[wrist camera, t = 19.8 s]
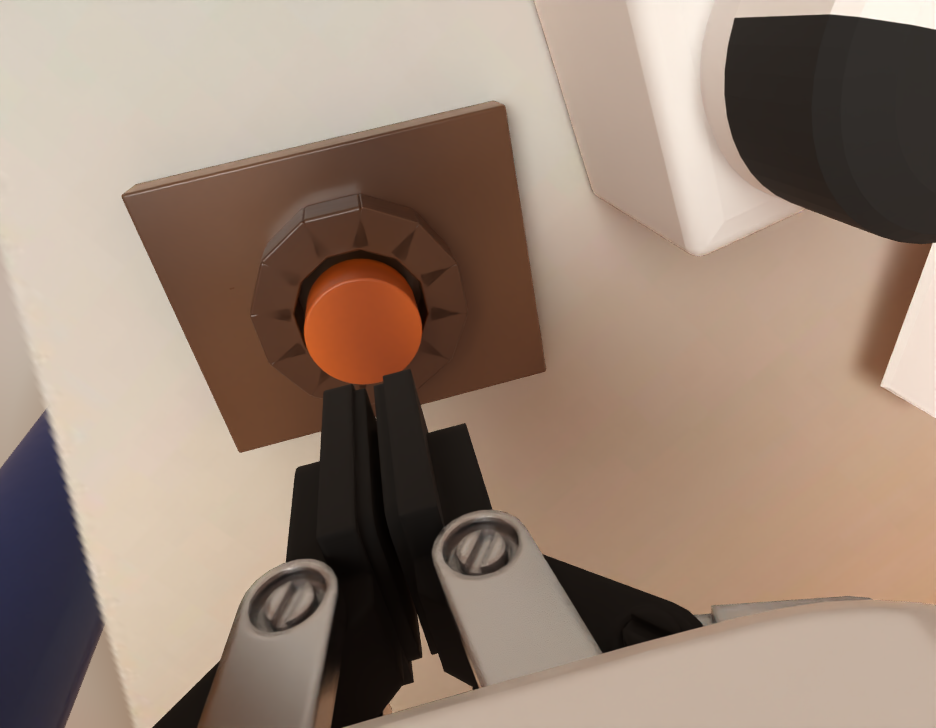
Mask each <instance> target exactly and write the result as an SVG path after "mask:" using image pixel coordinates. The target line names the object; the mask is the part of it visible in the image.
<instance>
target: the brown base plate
mask: <svg viewBox="0 0 936 728" xmlns="http://www.w3.org/2000/svg"><path fill="white" fill-rule="evenodd" d="M122 199H123V201H124V203H125V206H126V208H127V210H128V212H129V214H130V216H131V219H132V221H133V223H134V225H135V227H136V230H137V232H138V234H139V236H140V238H141V240H142V243H143V245H144V247H145V249H146V251H147V253H148V256H149V258H150V260H151V262H152V264H153V266H154V269H155V271H156V273H157V275H158V277H159V280H160V282H161V284H162V286H163V288H164V290H165V293H166V295H167V297H168V299H169V301H170V303H171V306H172V308H173V310H174V312H175V314H176V316H177V319H178V321H179V323H180V325H181V327H182V330H183V332H184V334H185V336H186V338H187V340H188V343H189V345H190V347H191V349H192V351H193V353H194V356H195V358H196V360H197V362H198V364H199V366H200V369H201V371H202V373H203V375H204V377H205V380H206V382H207V384H208V386H209V388H210V390H211V393H212V395H213V397H214V399H215V401H216V403H217V406H218V408H219V410H220V412H221V414H222V416H223V419H224V421H225V423H226V425H227V427H228V430H229V432H230V434H231V436H232V438H233V440H234V443H235V445H236V447H237V449H238V451H239V452H240V453H241V452H245V451H249V450H253V449H256V448H260V447H264V446H268V445H271V444H275V443H279V442H283V441H286V440H290V439H294V438H298V437H301V436H305V435H309V434H313V433H316V432H320V431H321V430H322V410H323V393H324V391H325V390H329V389H333V388H337V387H341V386H345V385H349V384H352V383H347V382H344V381H341V380H338V379H336V378H334V377H332V376H330V375H329V374H327V373H326V372H324V371H323V370H322V369H321V368H320V367H319V366H318V365H317V364H316V363H315V362H314V360H313V359H312V357H311V356H310V354H309V352H308V349H307V347H306V343H305V338H304V322H305V313H306V304H307V298H308V295H309V292H310V289H311V287H312V285H313V284H314V282H315V281H316V279H317V278H318V277H319V276H320V275H321V274H322V273H323V272H324V271H326V270H327V269H328V268H330V267H332V266H333V265H335V264H337V263H340V262H343V261H346V260H351V259H361V258H362V259H371V260H376V261H379V262H382V263H385V264H387V265H389V266H391V267H392V268H394V269H395V270H397V271H398V272H399V273H400V274H401V275H402V276H403V277H404V278H405V279H406V281H407V282H408V284H409V285H410V287H411V289H412V291H413V294H414V297H415V301H416V304H417V307H418V310H419V314H420V317H421V322H422V339H421V343H420V346H419V349H418V351H417V353H416V355H415V357H414V358H413V360H412V361H411V362H410V364H409V365H408V366H407V367H406V368H405V369H404V370H407V369H411V372H412V375H413V379H414V383H415V386H416V390H417V394H418V397H419V401H420V404H421V405H422V404H425V403H429V402H433V401H437V400H440V399H444V398H448V397H452V396H455V395H459V394H463V393H467V392H470V391H474V390H478V389H482V388H485V387H489V386H493V385H497V384H500V383H504V382H508V381H512V380H515V379H519V378H523V377H527V376H530V375H534V374H538V373H542V372H545V371H546V365H545V359H544V352H543V346H542V339H541V333H540V327H539V320H538V314H537V307H536V301H535V294H534V288H533V281H532V275H531V268H530V262H529V255H528V249H527V243H526V236H525V230H524V223H523V217H522V210H521V204H520V197H519V191H518V184H517V178H516V171H515V165H514V158H513V152H512V146H511V139H510V133H509V126H508V120H507V113H506V107H505V105H503V104H500V103H498V102H496V101H490V102H486V103H481V104H477V105H473V106H468V107H464V108H460V109H456V110H451V111H447V112H443V113H439V114H434V115H430V116H426V117H422V118H417V119H413V120H409V121H404V122H400V123H396V124H392V125H387V126H383V127H379V128H375V129H370V130H366V131H362V132H358V133H353V134H349V135H345V136H340V137H336V138H332V139H328V140H323V141H319V142H315V143H311V144H306V145H302V146H298V147H294V148H289V149H285V150H281V151H276V152H272V153H268V154H264V155H259V156H255V157H251V158H247V159H242V160H238V161H234V162H230V163H225V164H221V165H217V166H212V167H208V168H204V169H200V170H195V171H191V172H187V173H183V174H178V175H174V176H170V177H165V178H161V179H157V180H153V181H148V182H144V183H140V184H136V185H134V186H133V187H132V188H130V189H129V190H128V191H126V192H125V193H124V194H123V195H122ZM402 371H403V370H402ZM379 384H383V381H382V382H378V383H373V384H353V385H354V387H355V389H356V390H359V389H363V388H365V389H366V391H367V393H368V396H369V399H370V402H371V405H372V408H373V412H374V415H375V417H376V409H375V398H374V386H375V385H379Z"/></svg>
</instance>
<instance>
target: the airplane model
mask: <svg viewBox="0 0 936 728" xmlns="http://www.w3.org/2000/svg"><path fill="white" fill-rule="evenodd" d="M880 386H881V387H883V388H885V389H887V390H888V391H890V392H892V393H893V394H895V395H897V396H898V397H900V398H902V399H904V400H905V401H907V402H909V403H910V404H912V405H914V406H915V407H917V408H919V409H921V410H922V411H924V412H926V413H927V414H929V415H931V416H932V417H934V418H936V243H933V244H932V247H931V249H930V252H929V255H928V258H927V260H926V263H925V266H924V268H923V271H922V274H921V277H920V279H919V282H918V285H917V287H916V290H915V293H914V296H913V298H912V301H911V304H910V306H909V309H908V312H907V315H906V317H905V320H904V323H903V325H902V328H901V331H900V334H899V336H898V339H897V342H896V344H895V347H894V350H893V353H892V355H891V358H890V361H889V363H888V366H887V368H886V371H885V374H884V376H883V379H882V382H881V384H880Z"/></svg>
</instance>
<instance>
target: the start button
mask: <svg viewBox="0 0 936 728" xmlns="http://www.w3.org/2000/svg"><path fill="white" fill-rule="evenodd" d="M304 338H305V343H306V347H307V349H308V352H309V354H310V356H311V357H312V359H313V360H314V362H315V363H316V364H317V365H318V366H319V367H320V368H321V369H322V370H323V371H324V372H326V373H327V374H329V375H330V376H332V377H334V378H336V379H338V380H341V381H344V382H347V383H352V384H373V383H378V382H382V381H383V376H384V375H388V374H392V373H396V372H399V371H402V370H404V369H405V368H406V367H407V366H408V365H409V364H410V362H411V361H412V360H413V358H414V357H415V355H416V353H417V351H418V349H419V346H420V343H421V339H422V322H421V317H420V314H419V310H418V307H417V304H416V301H415V297H414V294H413V291H412V289H411V287H410V285H409V284H408V282H407V281H406V279H405V278H404V277H403V276H402V275H401V274H400V273H399V272H398V271H397V270H395V269H394V268H392V267H391V266H389V265H387V264H385V263H382V262H379V261H376V260H371V259H362V258H361V259H351V260H346V261H343V262H340V263H337V264H335V265H333V266H332V267H330V268H328V269H327V270H326V271H324V272H323V273H322V274H321V275H320V276H319V277H318V278H317V279H316V281H315V282H314V284H313V285H312V287H311V289H310V292H309V295H308V298H307V304H306V313H305V322H304Z"/></svg>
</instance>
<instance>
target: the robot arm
mask: <svg viewBox="0 0 936 728" xmlns="http://www.w3.org/2000/svg"><path fill="white" fill-rule="evenodd" d="M374 398H375V409H376V418H375V415H374V412H373V408H372V405H371V402H370V399H369V396H368V393H367V391H366V389H365V388H363V389H359V390H356V389H355V387H354V385H353V384H349V385H345V386H341V387H337V388H333V389H329V390H325V391H324V393H323V410H322V430H321V450H320V461H319V462H315V463H312V464H308V465H304V466H300V467H298V468H297V469H296V472H295V478H294V488H293V498H292V507H291V517H290V527H289V536H288V546H287V556H286V563H283V564H281V565H279V566H277V567H275V568H273V569H271V570H269V571H268V572H267V573H265V574H264V575H263V576H262V577H260V578H259V579H258V580H256V581H255V583H254V584H253V585H252V586H251V587H250V588H249V590H248V591H247V592H246V593H245V595H244V597H243V599H242V601H241V603H240V605H239V608H238V611H237V614H236V616H235V619H234V622H233V625H232V628H231V631H230V634H229V637H228V640H227V642H226V645H225V648H224V651H223V654H222V657H221V660H220V661H219V662H218V663H217V664H216V665H215V666H214V667H213V668H212V669H211V670H210V671H209V672H208V673H207V674H206V675H205V676H204V677H203V678H202V679H201V680H200V681H199V682H198V683H197V684H196V685H195V686H194V687H193V688H192V689H191V690H190V691H189V692H188V693H187V694H186V695H185V696H184V697H183V698H182V699H181V700H180V701H179V702H178V703H177V704H176V705H175V706H174V707H173V708H172V709H171V710H170V711H169V712H168V713H167V714H166V715H165V716H163V717H162V718H161V719H160V720H159V721H158V722H157V723H156V724H155V725H154V726H153V727H152V728H936V605H933V604H926V603H919V602H903V601H887V600H873V599H871V598H865V597H852V596H844V597H830V598H815V599H801V600H786V601H772V602H757V603H743V604H729V605H714V606H711V614H701V615H693V614H692V613H690V612H689V611H688V610H686V609H684V608H682V607H681V606H679V605H677V604H675V603H673V602H670V601H667V600H665V599H662V598H659V597H657V596H654V595H651V594H649V593H646V592H643V591H640V590H638V589H635V588H632V587H630V586H627V585H624V584H622V583H619V582H616V581H613V580H611V579H608V578H605V577H603V576H600V575H597V574H594V573H592V572H589V571H586V570H584V569H581V568H578V567H576V566H573V565H570V564H567V563H565V562H562V561H559V560H557V559H554V558H551V557H548V556H546V555H543V554H542V553H541V551H540V550H539V548H538V547H537V545H536V543H535V542H534V540H533V538H532V537H531V535H530V533H529V532H528V530H527V529H526V527H525V526H524V525H523V524H522V523H521V522H520V520H519V519H518V518H516V517H514V516H512V515H510V514H508V513H506V512H501V511H496V510H492V507H491V503H490V500H489V497H488V494H487V490H486V487H485V484H484V481H483V477H482V474H481V471H480V468H479V465H478V461H477V458H476V455H475V452H474V448H473V445H472V442H471V439H470V436H469V432H468V429H467V426H466V424H465V423H464V424H460V425H456V426H453V427H449V428H445V429H441V430H437V431H434V432H430V433H428V430H427V426H426V423H425V419H424V415H423V412H422V408H421V404H420V401H419V397H418V394H417V390H416V386H415V383H414V379H413V375H412V372H411V369H407V370H403V371H399V372H396V373H392V374H388V375H384V376H383V384H379V385H375V386H374ZM417 614H418V616H417ZM418 617H419V620H420V623H421V626H422V629H423V632H424V634H425V637H426V640H427V643H428V646H429V649H430V652H431V654H432V655H433V654H437V653H438V654H439V657H440V660H441V663H442V666H443V669H444V671H445V672H446V673H448V674H450V675H452V676H454V677H456V678H457V679H459V680H461V681H463V682H465V683H467V684H468V685H470V686H471V687H472V691H468V692H465V693H461V694H458V695H454V696H451V697H447V698H444V699H440V700H437V701H433V702H430V703H426V704H423V705H419V706H416V707H412V708H409V709H405V710H402V711H398V712H395V713H392V708H391V706H390V704H389V702H390V701H391V699H392V698H393V697H394V696H395V694H396V693H397V692H398V690H399V689H400V688H401V686H403V685H406V684H410V683H413V682H414V680H413V671H412V662H411V661H412V660H416V659H419V658H422V647H421V640H420V632H419V624H418Z"/></svg>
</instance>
